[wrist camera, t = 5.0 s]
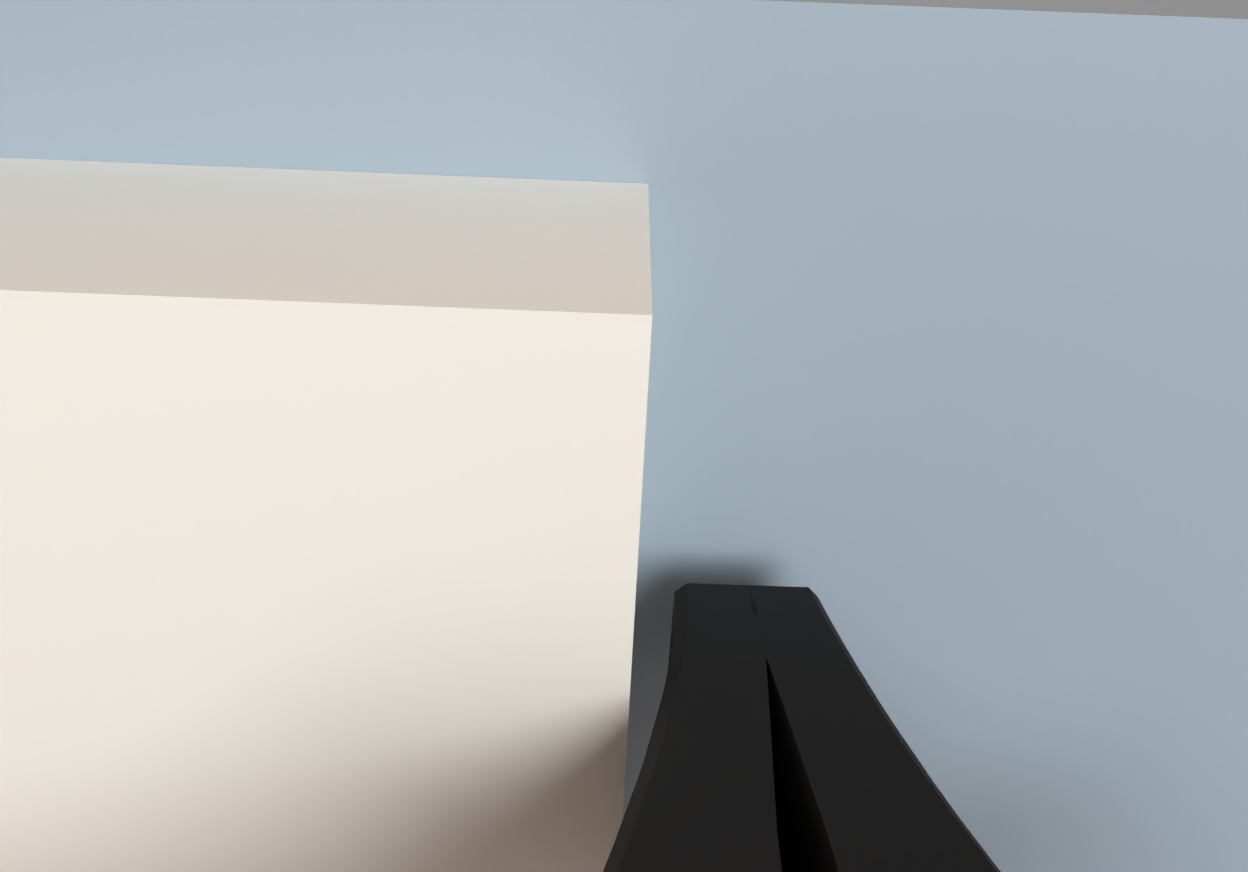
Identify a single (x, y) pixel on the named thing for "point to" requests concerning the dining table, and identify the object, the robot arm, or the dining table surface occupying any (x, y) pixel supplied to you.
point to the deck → (846, 331)
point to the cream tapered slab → (317, 517)
